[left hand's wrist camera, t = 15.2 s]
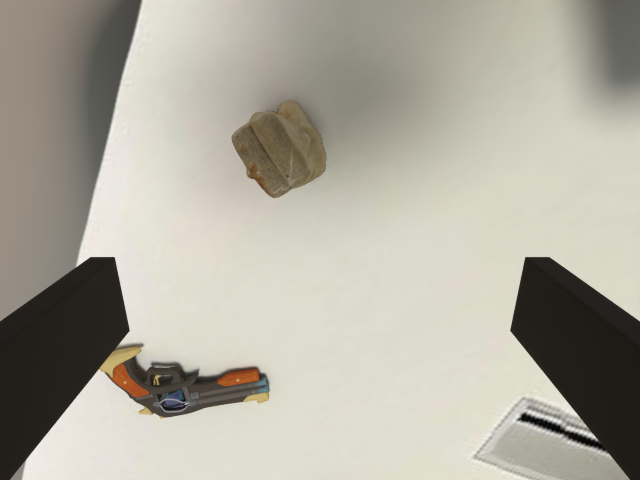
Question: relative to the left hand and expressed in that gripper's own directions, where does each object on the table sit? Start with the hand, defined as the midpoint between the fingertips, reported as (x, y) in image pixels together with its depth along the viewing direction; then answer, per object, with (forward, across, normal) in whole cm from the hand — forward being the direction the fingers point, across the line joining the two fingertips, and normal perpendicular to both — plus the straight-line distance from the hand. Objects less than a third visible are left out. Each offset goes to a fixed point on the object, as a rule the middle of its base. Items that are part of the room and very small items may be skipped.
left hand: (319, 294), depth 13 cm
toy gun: (+28, -16, -26) cm, 41 cm away
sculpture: (+28, -2, +2) cm, 28 cm away
